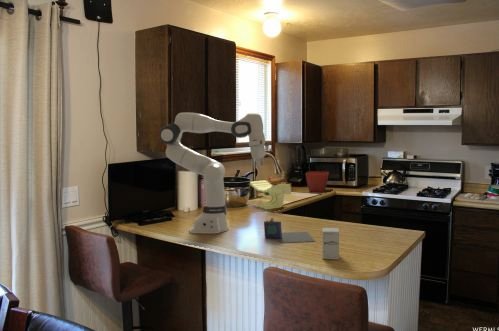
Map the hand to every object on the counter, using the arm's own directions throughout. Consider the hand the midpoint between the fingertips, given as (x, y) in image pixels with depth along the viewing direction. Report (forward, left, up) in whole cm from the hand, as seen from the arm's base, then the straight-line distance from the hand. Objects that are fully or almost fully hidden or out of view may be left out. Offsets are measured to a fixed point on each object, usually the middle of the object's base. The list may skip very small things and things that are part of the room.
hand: (260, 165), depth 247 cm
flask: (+4, -21, -37) cm, 42 cm away
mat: (+15, -21, -37) cm, 45 cm away
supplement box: (+25, -58, -37) cm, 73 cm away
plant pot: (+63, +135, -37) cm, 154 cm away
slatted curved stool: (+13, +70, -37) cm, 80 cm away
